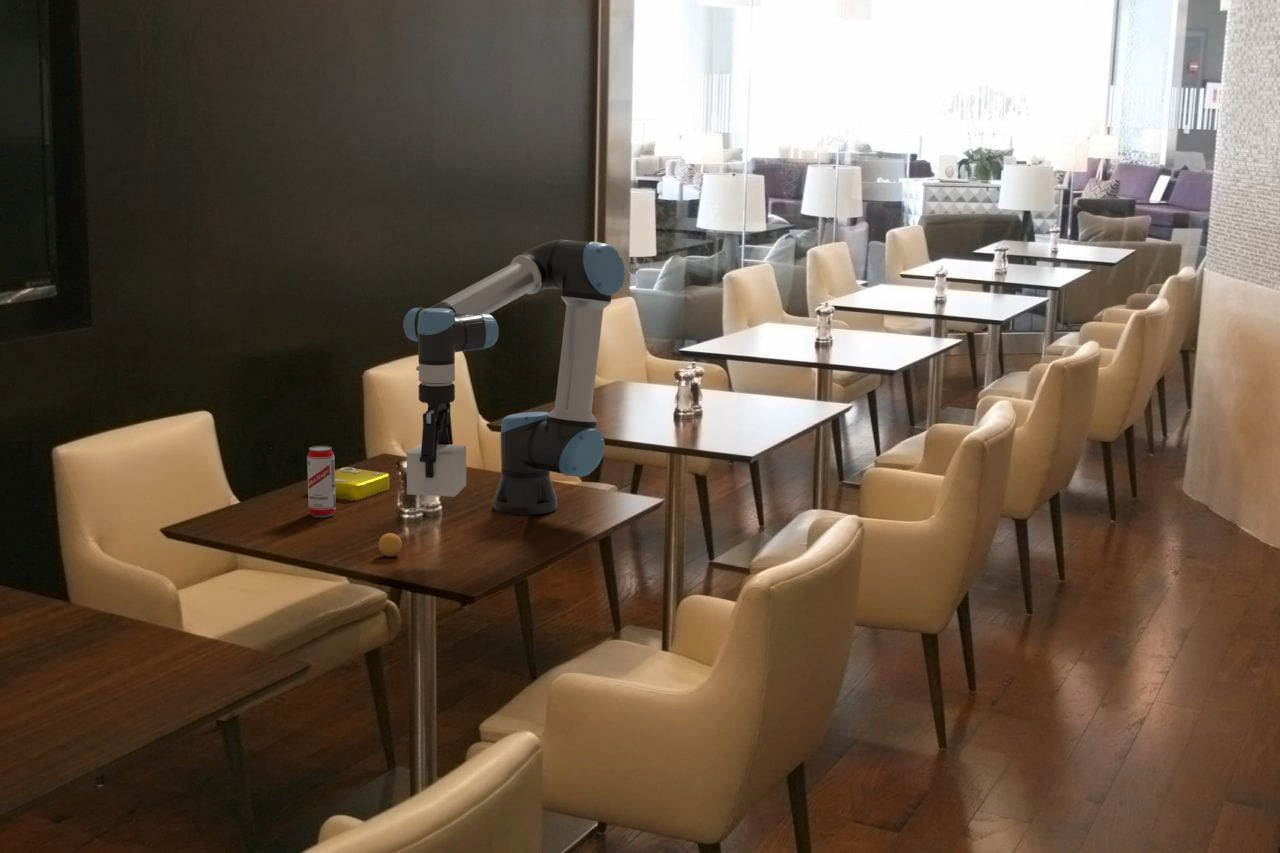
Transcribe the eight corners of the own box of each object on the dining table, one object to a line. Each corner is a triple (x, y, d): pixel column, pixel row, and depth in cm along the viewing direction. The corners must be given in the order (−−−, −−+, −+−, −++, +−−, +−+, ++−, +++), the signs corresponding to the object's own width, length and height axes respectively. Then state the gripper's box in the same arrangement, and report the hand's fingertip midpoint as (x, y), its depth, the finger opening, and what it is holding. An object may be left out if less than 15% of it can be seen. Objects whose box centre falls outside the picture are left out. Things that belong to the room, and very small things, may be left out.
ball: (404, 553, 320) (404, 530, 319) (399, 560, 316) (398, 537, 315) (381, 552, 321) (381, 529, 320) (375, 559, 316) (375, 536, 315)
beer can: (332, 518, 347) (330, 451, 344) (305, 517, 347) (303, 450, 344) (338, 511, 353) (336, 445, 350) (312, 511, 354) (310, 444, 350)
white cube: (466, 485, 322) (466, 445, 320) (454, 496, 312) (454, 455, 310) (419, 483, 323) (419, 443, 321) (407, 494, 313) (406, 453, 311)
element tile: (307, 495, 370) (306, 476, 369) (344, 483, 383) (344, 464, 382) (356, 503, 363) (356, 484, 362) (392, 490, 377) (392, 471, 376)
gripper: (433, 373, 324) (433, 473, 329) (404, 391, 302) (405, 497, 307) (466, 374, 324) (467, 474, 328) (440, 392, 301) (441, 499, 306)
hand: (437, 486), depth 317 cm, fingers closed on white cube, 10 cm apart
